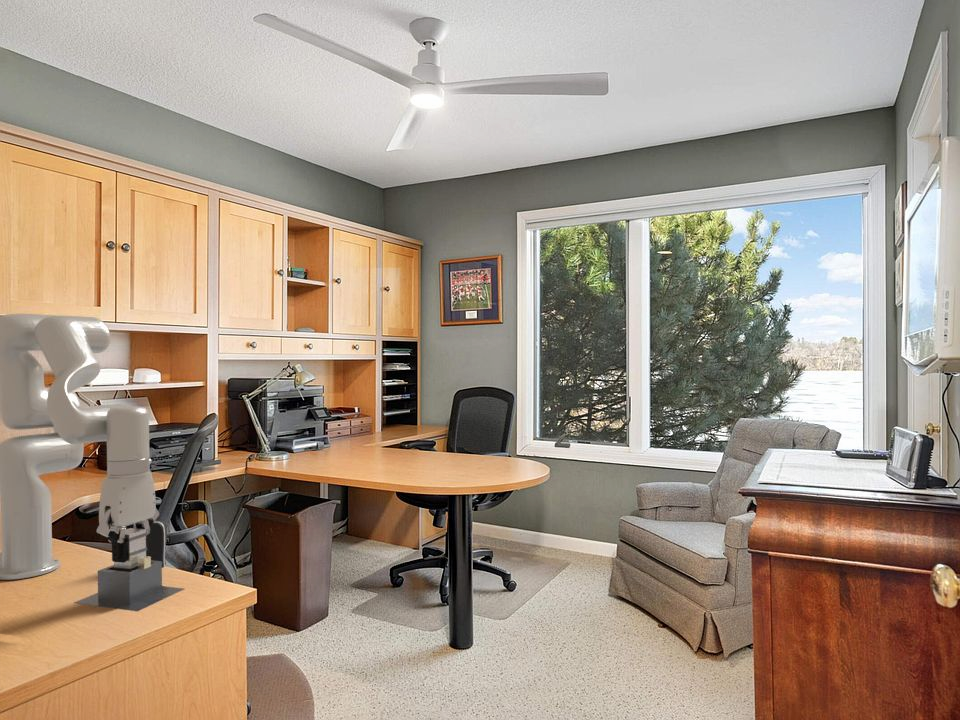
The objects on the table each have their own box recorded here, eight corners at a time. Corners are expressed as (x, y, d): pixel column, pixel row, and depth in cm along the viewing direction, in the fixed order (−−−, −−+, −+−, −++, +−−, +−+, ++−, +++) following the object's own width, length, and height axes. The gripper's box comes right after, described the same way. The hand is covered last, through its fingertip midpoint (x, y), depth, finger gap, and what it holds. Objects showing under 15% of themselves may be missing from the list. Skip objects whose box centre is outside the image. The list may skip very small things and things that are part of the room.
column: (113, 598, 125) (111, 533, 125) (131, 590, 129) (130, 527, 129) (130, 600, 124) (129, 535, 124) (148, 592, 128) (147, 529, 128)
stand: (73, 607, 123) (72, 562, 123) (124, 586, 134) (124, 544, 134) (137, 616, 118) (137, 568, 118) (185, 593, 130) (184, 550, 130)
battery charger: (169, 566, 147) (168, 518, 147) (163, 572, 143) (163, 522, 144) (137, 568, 146) (137, 519, 146) (131, 574, 142) (130, 524, 142)
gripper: (147, 460, 135) (148, 544, 135) (76, 474, 119) (78, 569, 119) (175, 461, 133) (176, 547, 133) (107, 475, 117) (108, 573, 117)
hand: (130, 556), depth 126 cm, fingers closed on column, 4 cm apart
